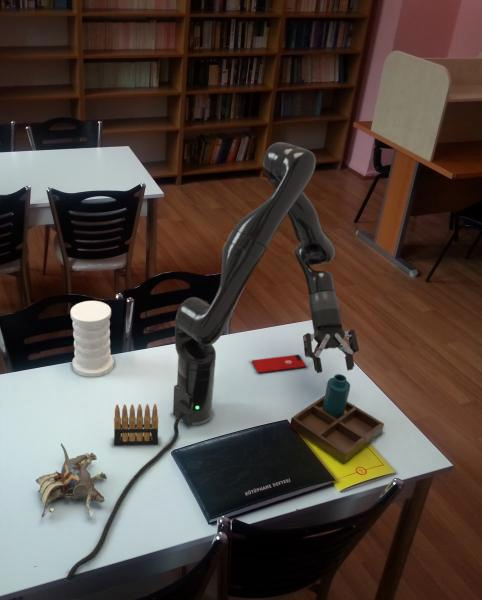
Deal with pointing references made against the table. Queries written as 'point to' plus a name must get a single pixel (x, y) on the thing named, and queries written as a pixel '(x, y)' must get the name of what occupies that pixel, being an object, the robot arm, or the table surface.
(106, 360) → the decorative container
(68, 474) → the figurine
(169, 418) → the table surface
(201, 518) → the table surface
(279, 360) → the electronic device
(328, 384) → the bottle
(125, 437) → the ammunition clip
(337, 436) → the compartment tray
